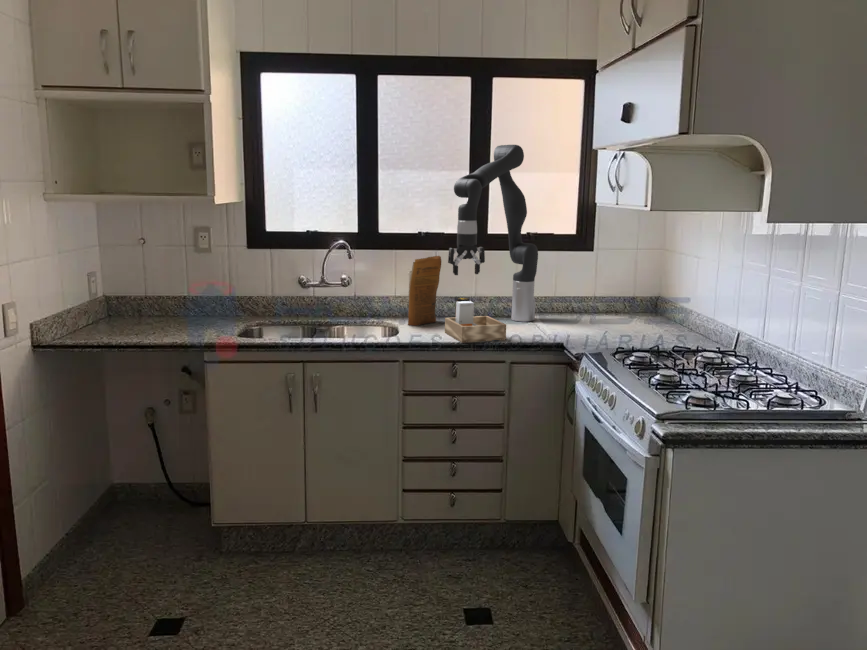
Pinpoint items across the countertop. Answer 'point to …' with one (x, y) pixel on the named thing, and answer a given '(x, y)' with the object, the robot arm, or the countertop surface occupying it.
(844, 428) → the countertop surface
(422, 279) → the pancake mix bag
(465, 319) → the skincare box
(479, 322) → the box
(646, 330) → the countertop surface
